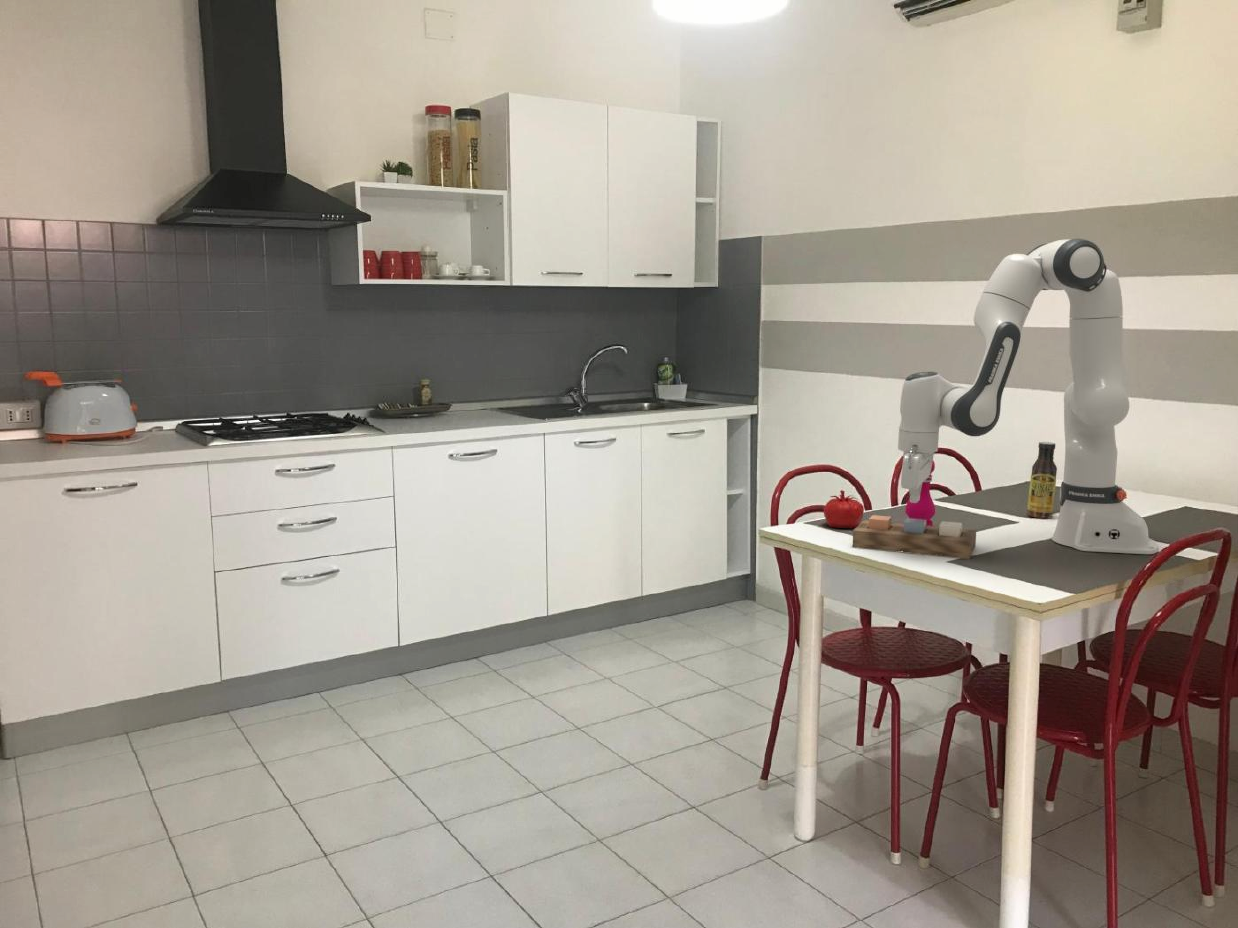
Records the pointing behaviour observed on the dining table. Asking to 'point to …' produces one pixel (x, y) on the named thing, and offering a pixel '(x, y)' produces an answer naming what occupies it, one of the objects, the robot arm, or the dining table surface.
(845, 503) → the red tomato
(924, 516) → the pepper mill
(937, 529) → the button panel
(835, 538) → the dining table surface
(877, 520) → the terracotta button
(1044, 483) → the sauce bottle
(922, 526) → the slate button
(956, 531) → the cream button
